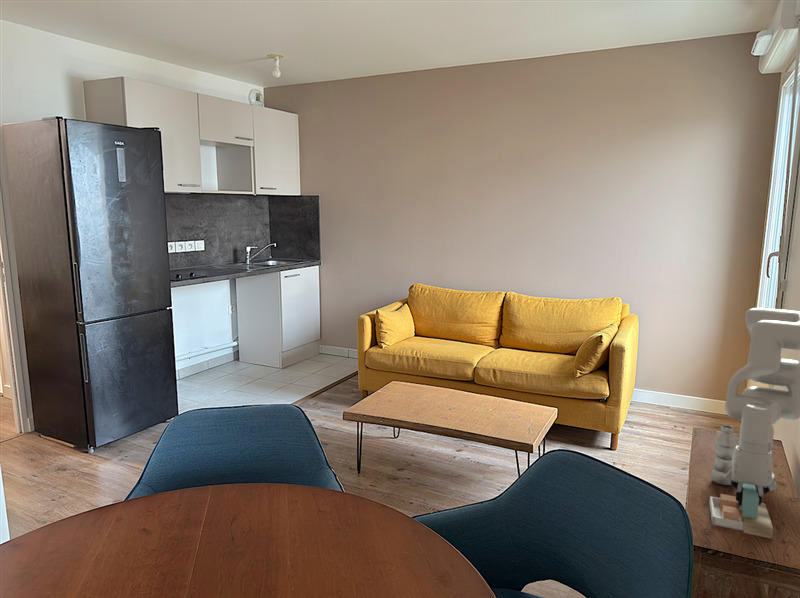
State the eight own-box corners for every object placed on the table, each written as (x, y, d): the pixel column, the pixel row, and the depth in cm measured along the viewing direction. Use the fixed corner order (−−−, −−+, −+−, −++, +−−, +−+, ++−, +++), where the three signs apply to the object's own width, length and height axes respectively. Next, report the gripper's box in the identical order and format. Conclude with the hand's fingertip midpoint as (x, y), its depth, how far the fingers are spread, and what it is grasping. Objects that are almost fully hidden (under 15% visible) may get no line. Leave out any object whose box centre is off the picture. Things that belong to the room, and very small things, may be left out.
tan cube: (734, 508, 176) (719, 505, 177) (735, 496, 175) (720, 493, 177) (735, 514, 172) (720, 511, 174) (736, 502, 172) (721, 499, 173)
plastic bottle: (714, 477, 198) (719, 421, 196) (736, 483, 194) (741, 427, 191) (708, 482, 194) (713, 426, 191) (730, 489, 189) (735, 432, 186)
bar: (738, 497, 175) (740, 479, 174) (751, 499, 174) (753, 481, 173) (742, 515, 164) (744, 496, 163) (757, 518, 163) (759, 499, 162)
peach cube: (736, 520, 169) (721, 517, 170) (738, 508, 168) (722, 505, 170) (738, 527, 165) (722, 524, 167) (739, 514, 164) (723, 511, 166)
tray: (709, 503, 180) (709, 496, 179) (737, 509, 176) (738, 501, 176) (712, 524, 167) (712, 516, 167) (743, 531, 164) (743, 522, 163)
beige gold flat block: (737, 507, 177) (738, 498, 177) (763, 512, 174) (764, 503, 174) (743, 532, 163) (744, 522, 162) (772, 538, 160) (773, 528, 159)
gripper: (785, 446, 166) (778, 505, 169) (720, 436, 173) (715, 493, 176) (790, 456, 159) (783, 517, 162) (722, 445, 166) (716, 504, 169)
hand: (747, 504), depth 169 cm, fingers closed on bar, 3 cm apart
